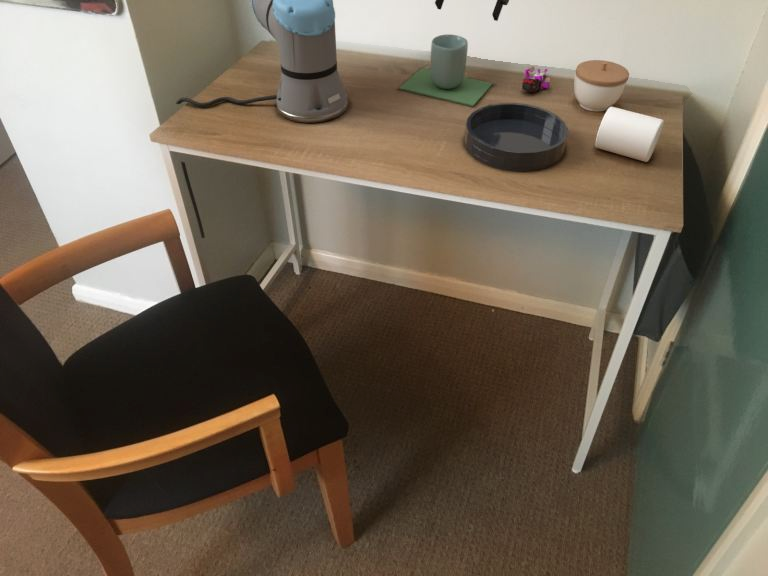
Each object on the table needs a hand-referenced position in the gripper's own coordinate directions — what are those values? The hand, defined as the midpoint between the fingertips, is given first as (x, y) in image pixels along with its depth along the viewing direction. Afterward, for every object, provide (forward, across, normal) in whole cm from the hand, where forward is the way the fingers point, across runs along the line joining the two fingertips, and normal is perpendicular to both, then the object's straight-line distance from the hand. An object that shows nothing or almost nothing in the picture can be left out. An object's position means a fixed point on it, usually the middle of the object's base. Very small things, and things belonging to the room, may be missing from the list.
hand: (465, 12), depth 134 cm
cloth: (+16, 0, -4) cm, 16 cm away
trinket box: (+11, -32, -8) cm, 35 cm away
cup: (+16, 0, -4) cm, 16 cm away
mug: (+21, -42, +2) cm, 47 cm away
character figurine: (+9, -18, -11) cm, 23 cm away
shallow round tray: (+27, -22, +9) cm, 36 cm away
